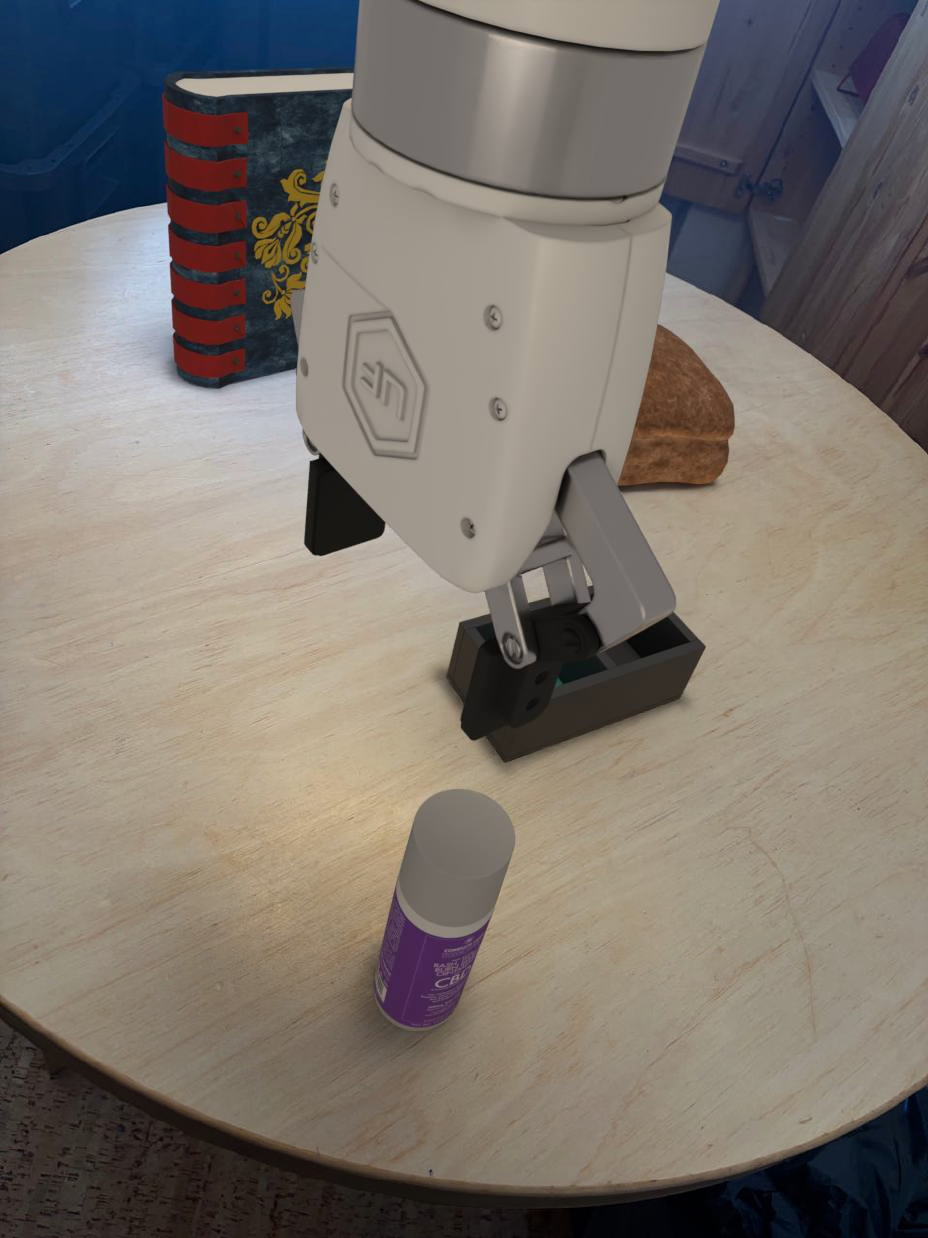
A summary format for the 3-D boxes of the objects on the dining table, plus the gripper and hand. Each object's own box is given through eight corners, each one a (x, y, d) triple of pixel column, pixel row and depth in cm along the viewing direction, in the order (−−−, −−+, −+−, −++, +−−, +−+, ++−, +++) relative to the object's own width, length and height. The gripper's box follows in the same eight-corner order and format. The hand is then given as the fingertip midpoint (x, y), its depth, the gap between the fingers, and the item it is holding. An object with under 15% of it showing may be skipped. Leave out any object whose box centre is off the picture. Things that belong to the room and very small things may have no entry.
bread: (725, 491, 90) (773, 385, 82) (429, 501, 81) (451, 384, 73) (654, 393, 101) (689, 292, 94) (386, 392, 92) (401, 280, 84)
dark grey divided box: (680, 698, 69) (706, 646, 66) (504, 762, 62) (522, 709, 59) (616, 624, 74) (637, 571, 70) (445, 676, 67) (458, 621, 63)
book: (195, 396, 86) (188, 101, 69) (159, 358, 90) (144, 68, 73) (414, 344, 100) (454, 87, 83) (376, 313, 104) (407, 60, 86)
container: (427, 1051, 48) (481, 902, 38) (354, 996, 50) (387, 838, 39) (476, 980, 51) (538, 825, 41) (406, 930, 53) (449, 768, 43)
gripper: (195, -23, 24) (206, 511, 36) (675, 286, 15) (481, 859, 27) (434, -13, 28) (373, 464, 40) (925, 237, 19) (661, 755, 31)
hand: (417, 624), depth 33 cm, fingers open, 9 cm apart
